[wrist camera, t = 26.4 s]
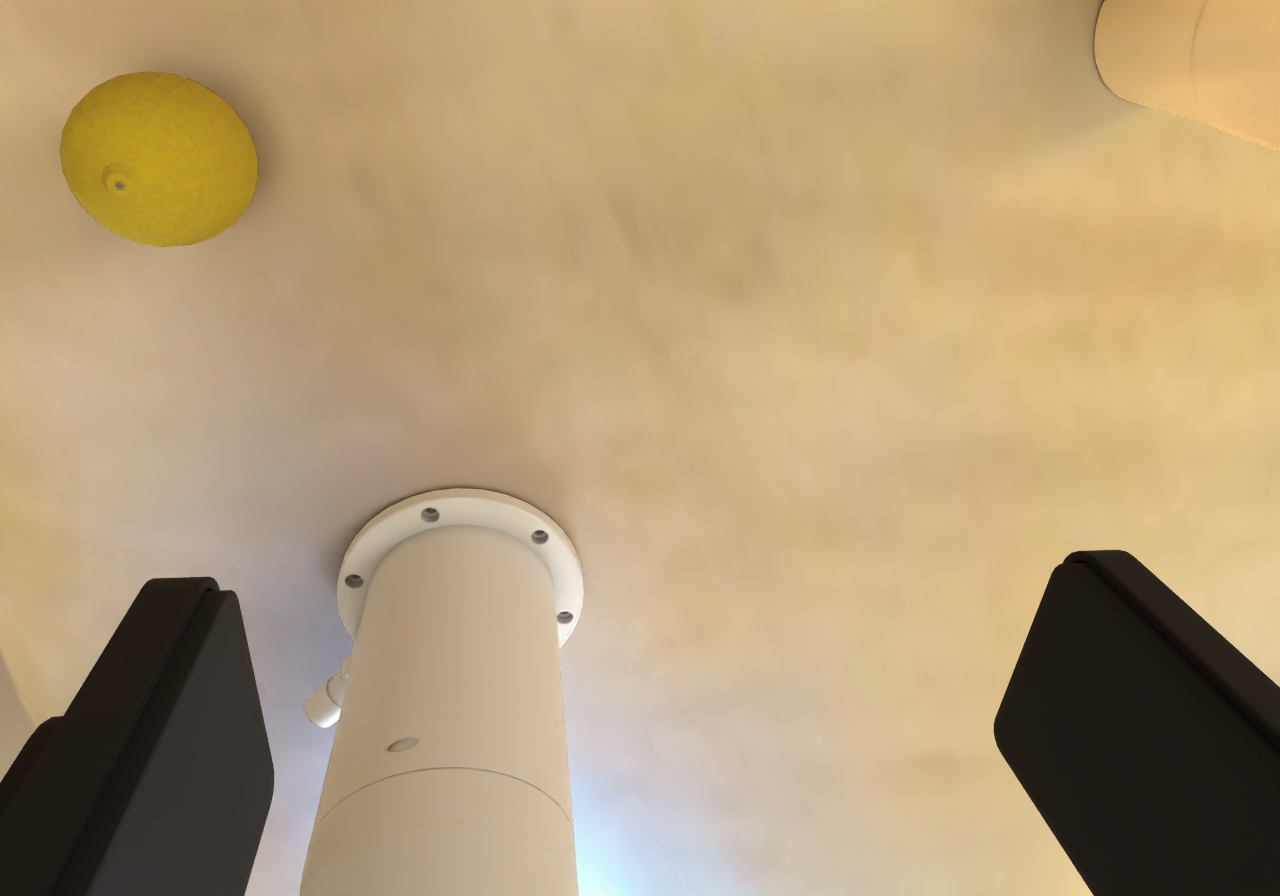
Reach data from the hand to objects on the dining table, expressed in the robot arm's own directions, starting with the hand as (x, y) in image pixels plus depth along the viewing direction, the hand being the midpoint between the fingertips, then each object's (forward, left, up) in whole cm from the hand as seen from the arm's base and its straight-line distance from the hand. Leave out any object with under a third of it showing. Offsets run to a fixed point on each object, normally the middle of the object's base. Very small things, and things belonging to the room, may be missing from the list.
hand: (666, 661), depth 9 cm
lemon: (-9, +10, -28) cm, 31 cm away
